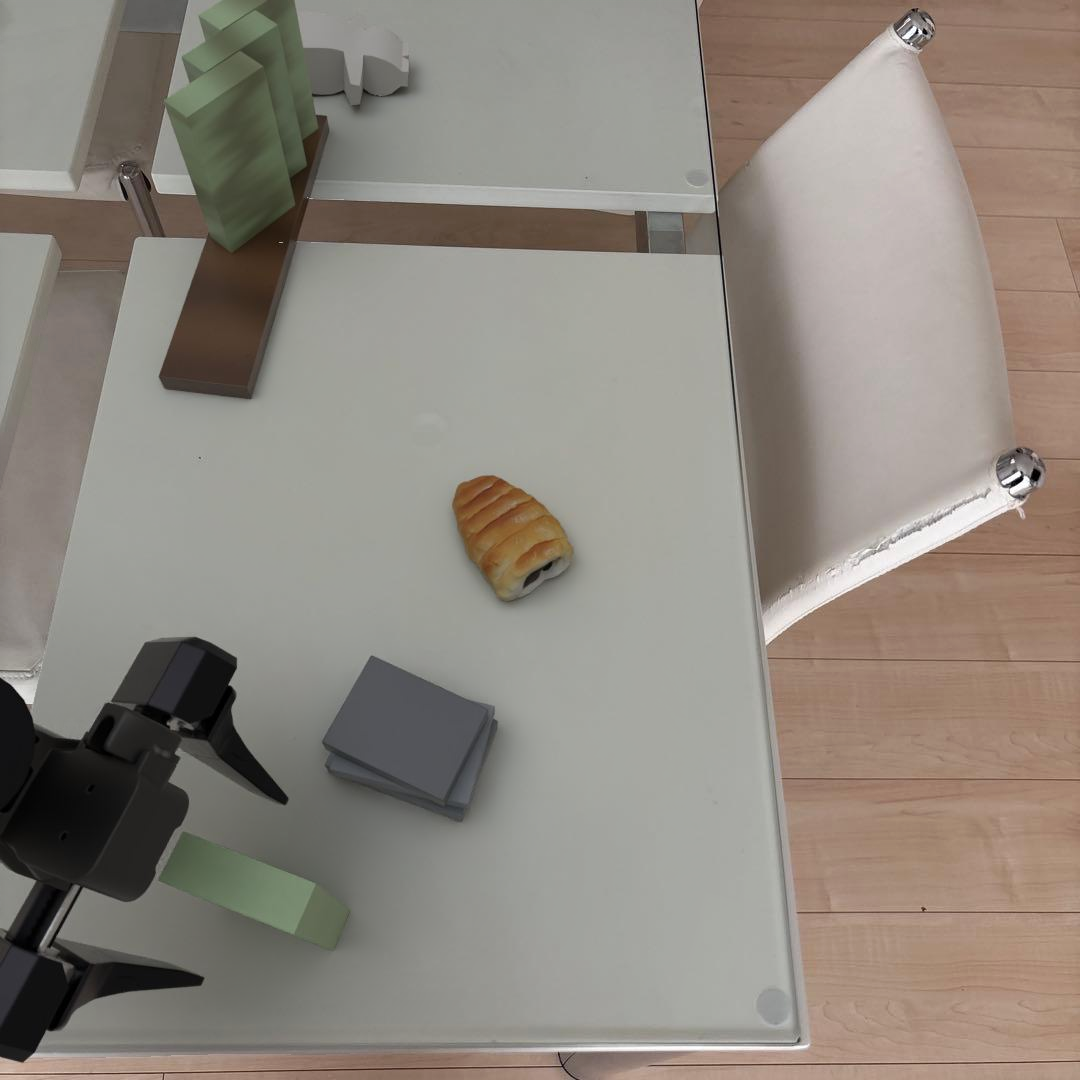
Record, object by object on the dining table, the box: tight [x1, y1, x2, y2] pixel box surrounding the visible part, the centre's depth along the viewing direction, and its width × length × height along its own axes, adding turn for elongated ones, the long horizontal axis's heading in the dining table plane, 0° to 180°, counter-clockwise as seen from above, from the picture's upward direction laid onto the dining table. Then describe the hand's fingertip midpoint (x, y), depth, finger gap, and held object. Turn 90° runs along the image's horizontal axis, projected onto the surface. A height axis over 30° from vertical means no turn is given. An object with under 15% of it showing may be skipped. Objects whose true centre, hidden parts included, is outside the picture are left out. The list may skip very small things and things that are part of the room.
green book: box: [157, 831, 351, 952], centre depth 51 cm, size 7×2×13 cm, turn 70°
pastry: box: [451, 474, 574, 602], centre depth 67 cm, size 9×7×4 cm
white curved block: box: [297, 10, 410, 106], centre depth 86 cm, size 10×5×15 cm
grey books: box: [321, 655, 498, 823], centre depth 59 cm, size 9×7×5 cm
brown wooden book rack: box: [158, 0, 330, 400], centre depth 72 cm, size 29×7×14 cm, turn 174°
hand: (243, 887), depth 49 cm, fingers open, 9 cm apart
